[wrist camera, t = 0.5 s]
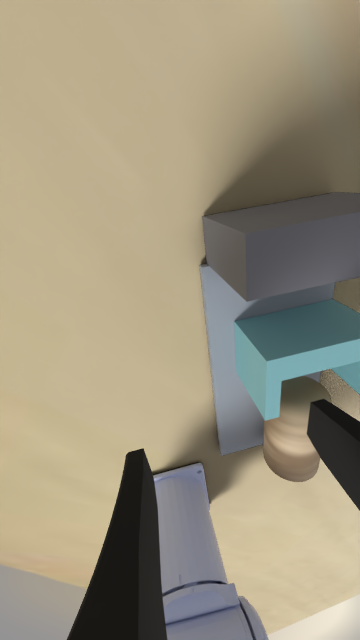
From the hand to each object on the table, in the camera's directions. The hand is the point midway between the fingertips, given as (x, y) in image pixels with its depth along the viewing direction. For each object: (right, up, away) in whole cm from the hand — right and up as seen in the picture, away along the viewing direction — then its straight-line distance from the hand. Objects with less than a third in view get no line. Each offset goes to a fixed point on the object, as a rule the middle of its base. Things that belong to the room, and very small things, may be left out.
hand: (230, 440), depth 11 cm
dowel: (+7, -3, +14) cm, 16 cm away
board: (+5, +1, +12) cm, 13 cm away
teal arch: (+6, +4, +10) cm, 12 cm away
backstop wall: (+4, +11, +6) cm, 13 cm away
